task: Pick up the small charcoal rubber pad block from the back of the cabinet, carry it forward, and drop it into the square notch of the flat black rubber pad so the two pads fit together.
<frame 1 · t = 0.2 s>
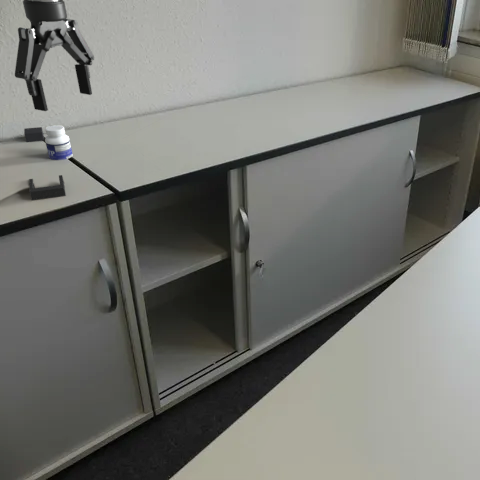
hand: (64, 101, 121), 17 cm above the cabinet, tool pointing down, fingers open, 13 cm apart
base pad: (48, 191, 121), on the cabinet
pad block: (36, 144, 142), on the cabinet
pill bottle: (62, 162, 134), on the cabinet
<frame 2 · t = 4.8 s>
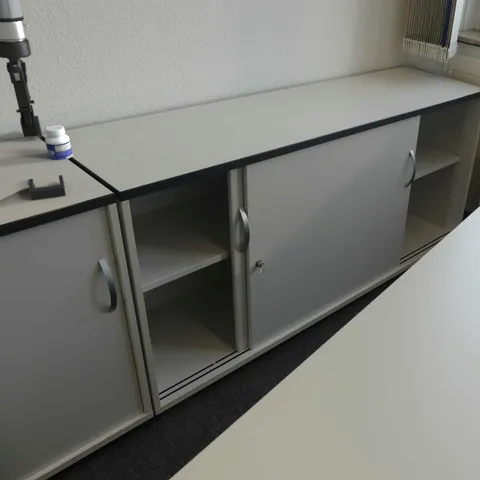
hand: (31, 132, 140), 3 cm above the cabinet, tool pointing down, fingers closed on pad block, 4 cm apart
pad block: (32, 133, 140), point 3 cm above the cabinet, touching gripper
everything else where it was.
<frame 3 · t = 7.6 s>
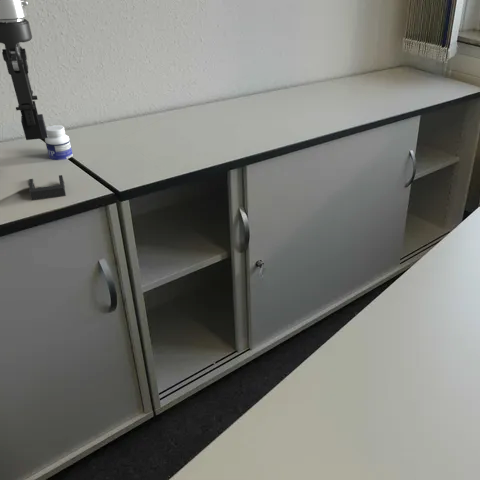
hand: (34, 134, 116), 12 cm above the cabinet, tool pointing down, fingers closed on pad block, 4 cm apart
pad block: (36, 135, 117), point 12 cm above the cabinet, touching gripper
everything else where it was.
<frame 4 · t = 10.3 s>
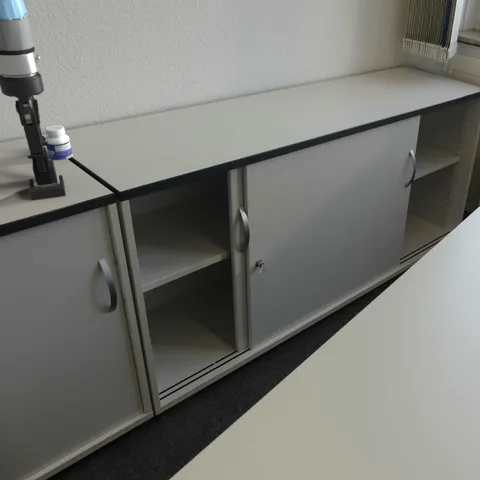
hand: (45, 179, 120), 2 cm above the cabinet, tool pointing down, fingers closed on pad block, 4 cm apart
pad block: (47, 180, 120), point 2 cm above the cabinet, touching gripper
everything else where it was.
when the fingers open (3 cm above the cabinet, at t = 14.6 s): pad block drops 3 cm, on the cabinet.
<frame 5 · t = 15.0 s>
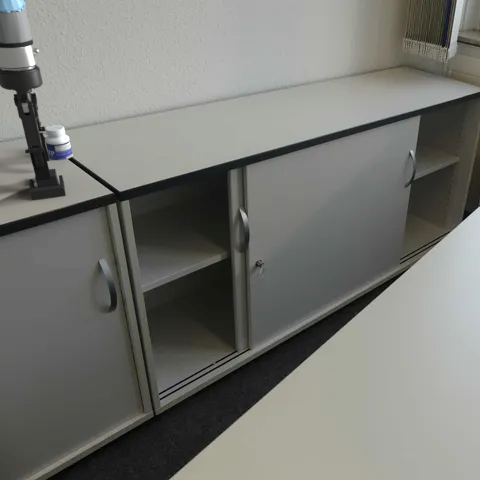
hand: (43, 169, 119), 5 cm above the cabinet, tool pointing down, fingers open, 10 cm apart
pad block: (49, 189, 121), on the cabinet
everything else where it was.
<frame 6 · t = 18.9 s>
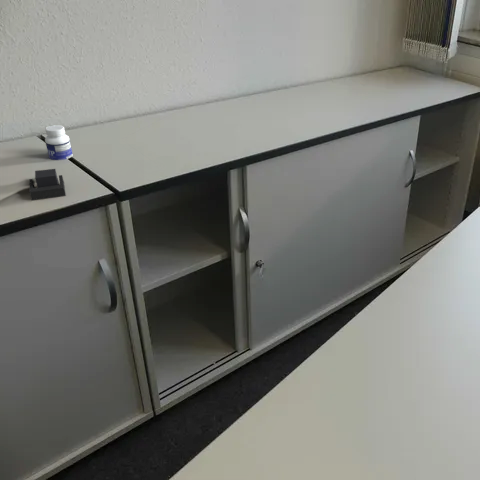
nothing on the cabinet moved.
at the end: pad block 0.3 cm off-centre on the base pad, point 0.0 cm above the base pad's base; pad block tilted 0° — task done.
